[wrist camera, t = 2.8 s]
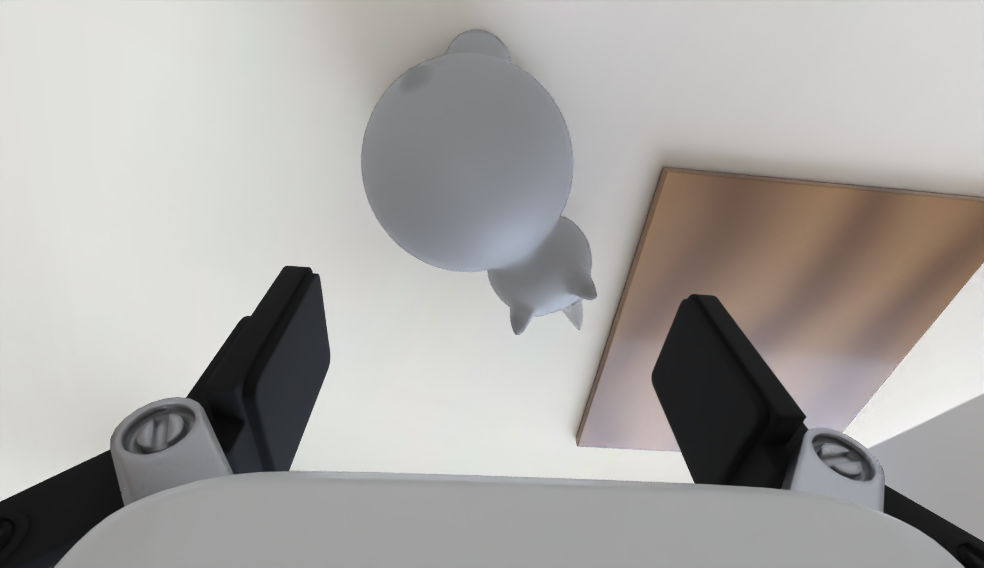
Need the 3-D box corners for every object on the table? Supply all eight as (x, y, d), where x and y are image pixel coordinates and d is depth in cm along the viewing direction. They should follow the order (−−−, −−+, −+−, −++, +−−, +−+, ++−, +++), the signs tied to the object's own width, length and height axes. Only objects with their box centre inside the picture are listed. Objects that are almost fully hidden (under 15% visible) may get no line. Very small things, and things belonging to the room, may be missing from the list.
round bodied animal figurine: (500, 295, 25) (507, 420, 18) (352, 101, 19) (276, 173, 12) (622, 232, 23) (684, 346, 16) (497, -7, 17) (507, 5, 10)
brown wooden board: (1019, 200, 22) (1031, 205, 22) (815, 452, 33) (820, 459, 33) (662, 166, 21) (667, 171, 20) (575, 439, 32) (576, 446, 32)
